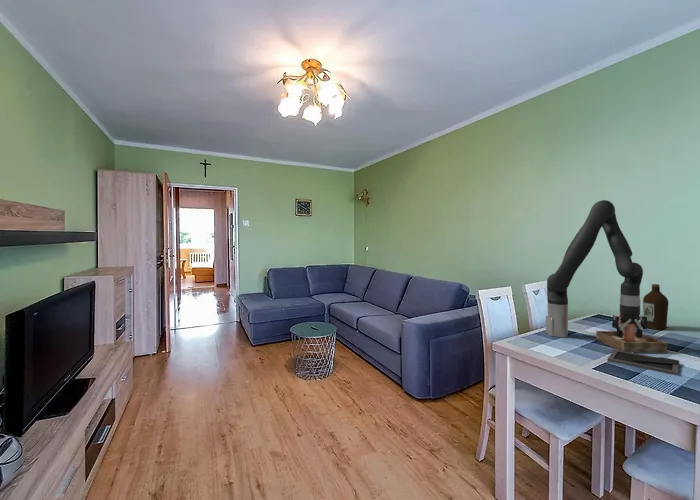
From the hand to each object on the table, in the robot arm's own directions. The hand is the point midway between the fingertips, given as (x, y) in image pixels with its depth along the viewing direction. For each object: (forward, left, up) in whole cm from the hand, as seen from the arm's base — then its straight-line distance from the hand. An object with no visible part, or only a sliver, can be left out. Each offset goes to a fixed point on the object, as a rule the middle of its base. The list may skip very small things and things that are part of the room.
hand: (629, 337), depth 155 cm
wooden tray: (0, 0, -4) cm, 4 cm away
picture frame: (-10, -21, -5) cm, 24 cm away
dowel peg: (0, 0, -4) cm, 4 cm away
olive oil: (+37, +32, -4) cm, 49 cm away
